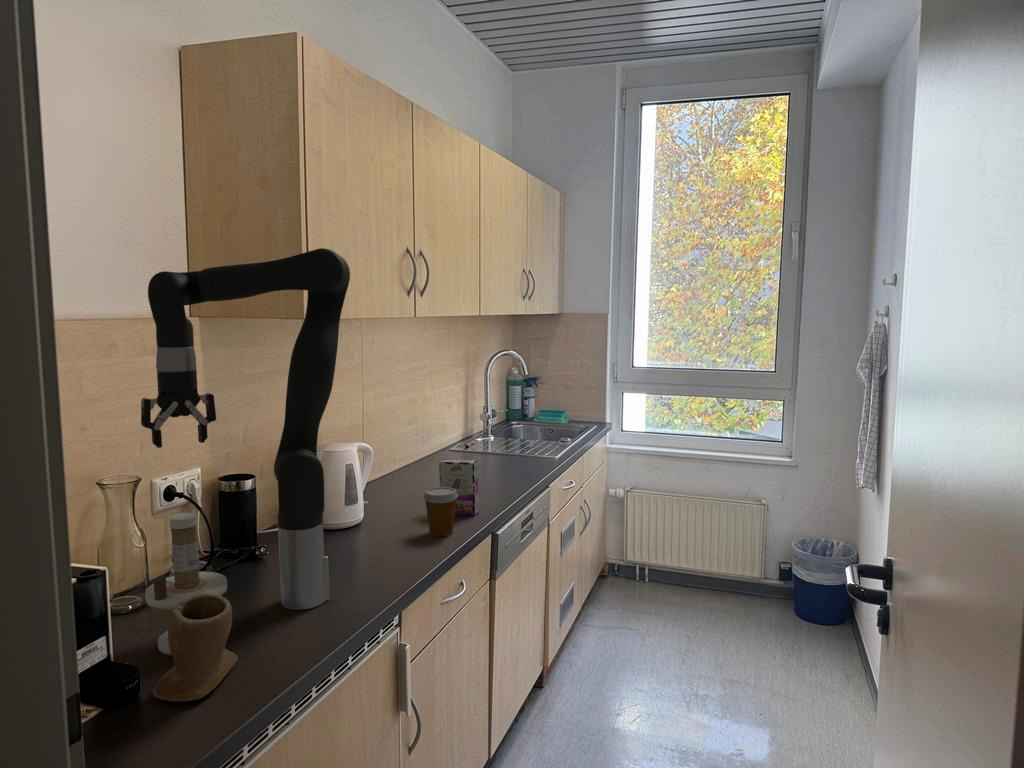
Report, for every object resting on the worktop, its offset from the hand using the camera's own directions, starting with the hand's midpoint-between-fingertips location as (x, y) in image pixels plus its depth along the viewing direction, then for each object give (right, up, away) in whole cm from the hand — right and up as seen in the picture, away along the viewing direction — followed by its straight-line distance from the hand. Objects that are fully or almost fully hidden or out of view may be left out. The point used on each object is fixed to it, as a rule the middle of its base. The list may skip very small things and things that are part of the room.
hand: (180, 444), depth 150 cm
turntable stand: (+9, -36, -15) cm, 40 cm away
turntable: (+9, -27, -16) cm, 32 cm away
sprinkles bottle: (+9, -25, -16) cm, 31 cm away
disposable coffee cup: (+51, -29, +47) cm, 75 cm away
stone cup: (+18, -38, -30) cm, 52 cm away
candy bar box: (+54, -27, +65) cm, 89 cm away
